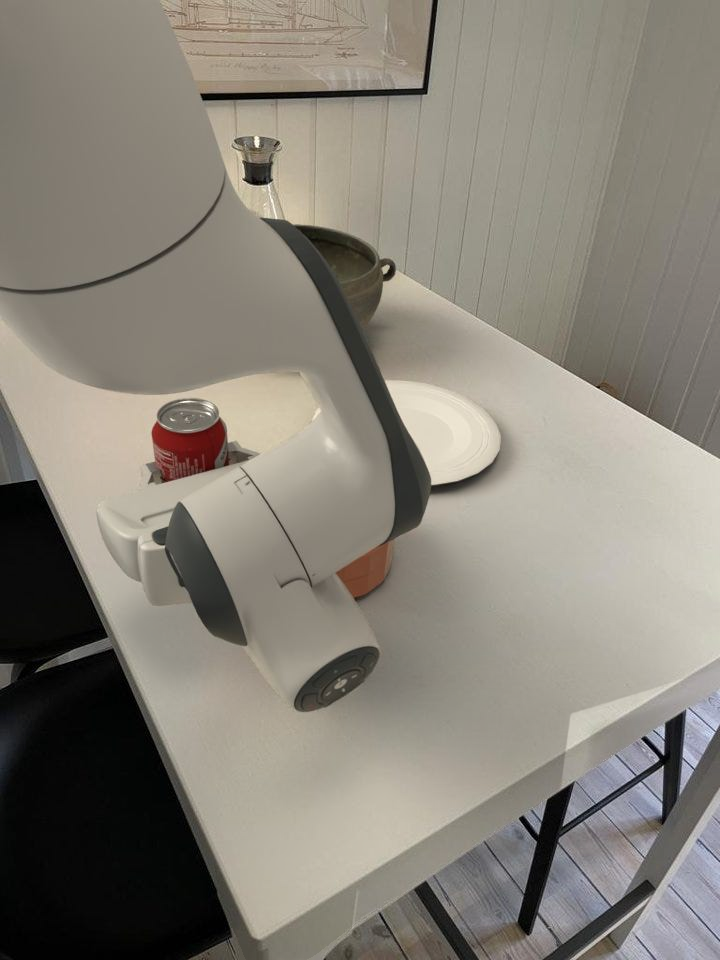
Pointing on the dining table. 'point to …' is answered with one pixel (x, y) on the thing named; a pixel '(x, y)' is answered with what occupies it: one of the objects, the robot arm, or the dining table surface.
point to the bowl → (352, 267)
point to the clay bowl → (367, 570)
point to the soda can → (189, 438)
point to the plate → (445, 430)
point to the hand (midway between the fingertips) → (188, 458)
